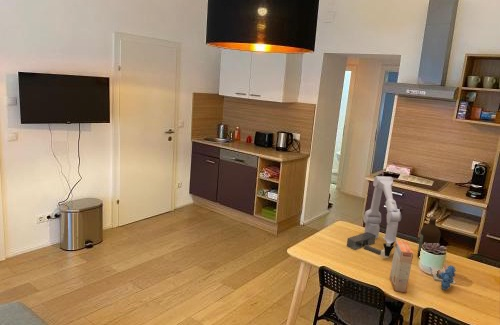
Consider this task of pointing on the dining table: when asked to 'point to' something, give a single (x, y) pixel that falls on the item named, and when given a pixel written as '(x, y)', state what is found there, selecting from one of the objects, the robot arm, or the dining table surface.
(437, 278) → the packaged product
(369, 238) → the housing
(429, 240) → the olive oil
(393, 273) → the cracker box
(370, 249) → the plug
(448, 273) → the grapes
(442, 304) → the dining table surface
